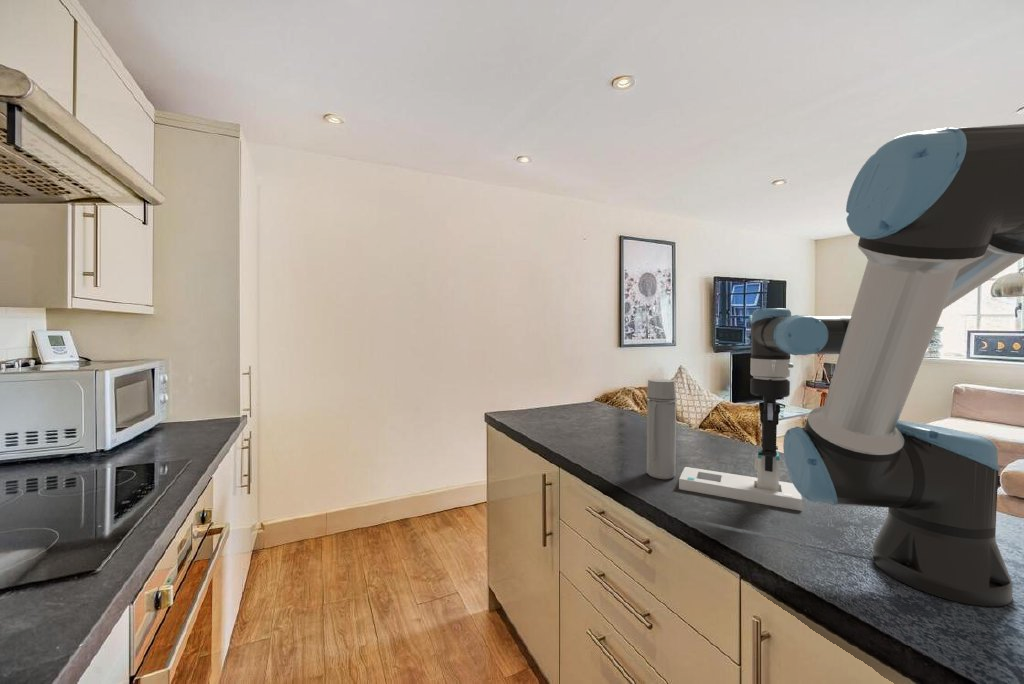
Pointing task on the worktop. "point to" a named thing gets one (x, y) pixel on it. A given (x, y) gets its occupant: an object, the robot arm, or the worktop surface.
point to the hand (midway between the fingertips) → (767, 481)
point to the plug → (758, 467)
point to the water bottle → (661, 428)
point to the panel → (739, 488)
